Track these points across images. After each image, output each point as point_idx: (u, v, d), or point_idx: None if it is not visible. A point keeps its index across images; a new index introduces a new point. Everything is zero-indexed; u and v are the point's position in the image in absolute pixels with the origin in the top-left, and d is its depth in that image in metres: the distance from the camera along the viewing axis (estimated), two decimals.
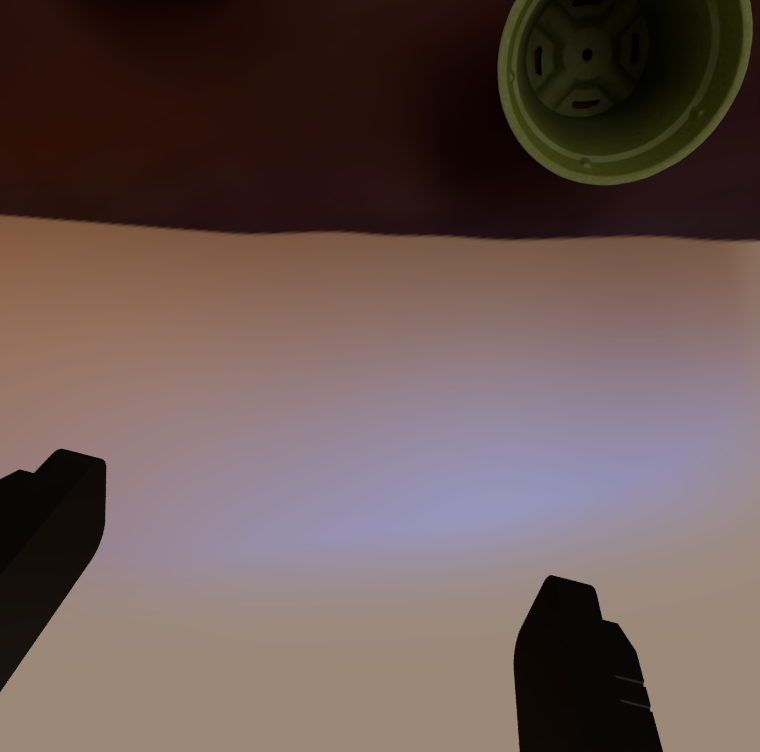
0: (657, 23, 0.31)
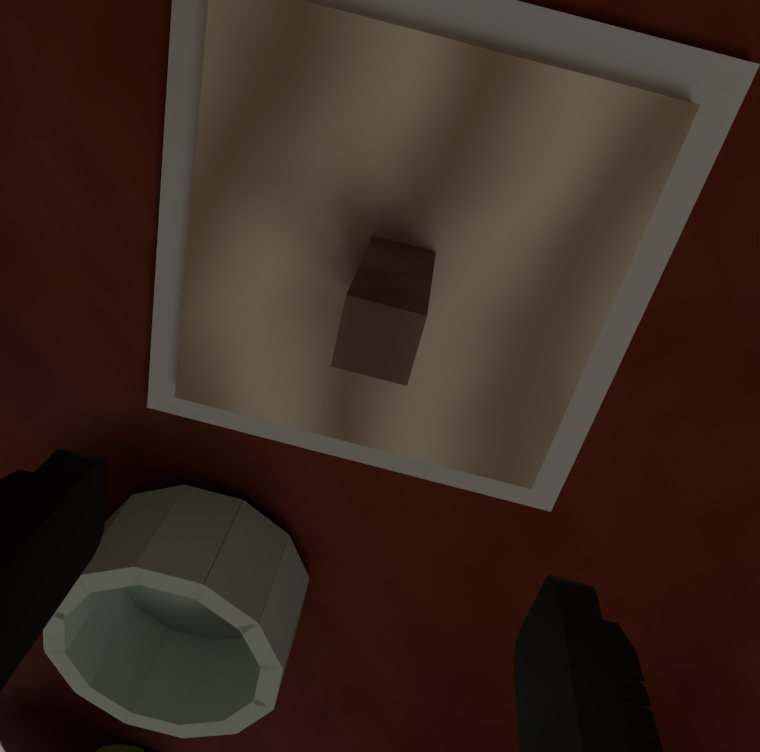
0: None
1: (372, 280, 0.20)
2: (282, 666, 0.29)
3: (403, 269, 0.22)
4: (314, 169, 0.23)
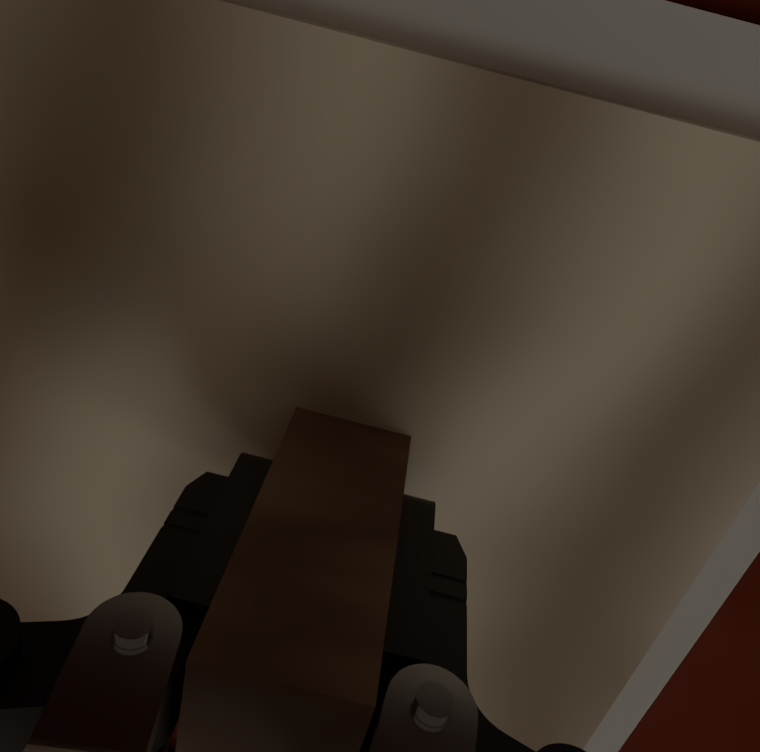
0: None
1: (267, 571, 0.10)
2: None
3: (340, 513, 0.11)
4: (182, 296, 0.12)
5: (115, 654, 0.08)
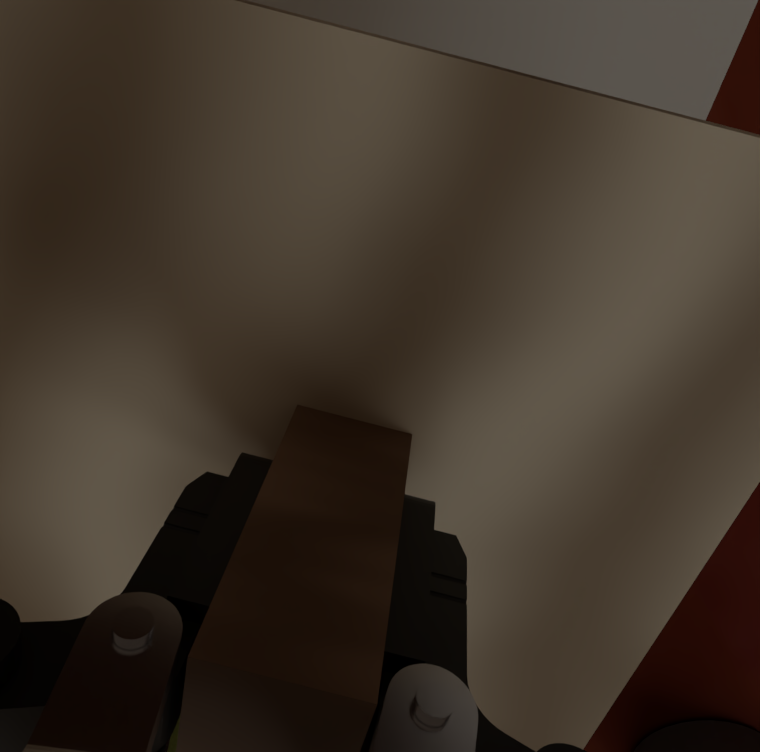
0: None
1: (269, 568, 0.10)
2: None
3: (342, 510, 0.11)
4: (183, 294, 0.12)
5: (115, 654, 0.08)
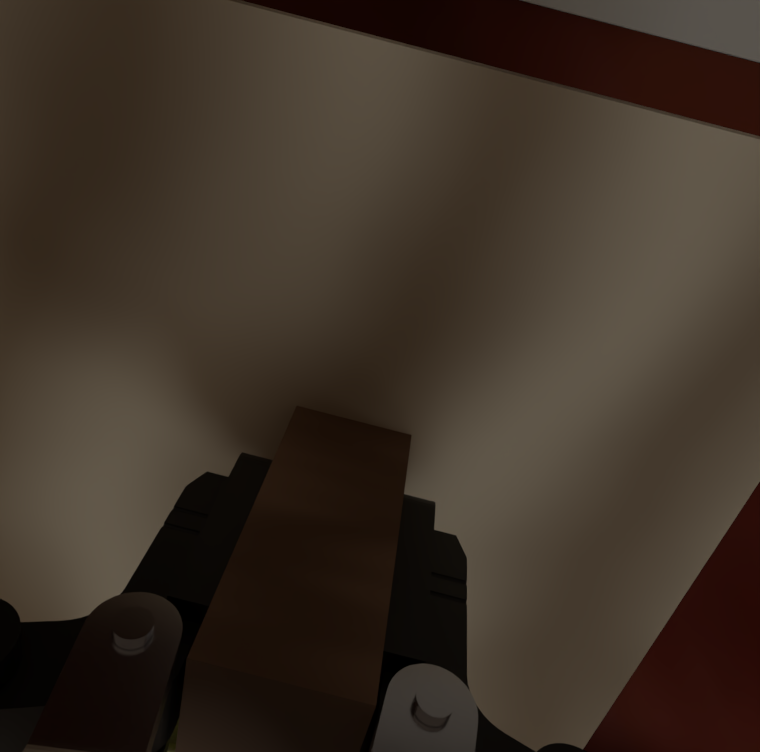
0: None
1: (268, 570, 0.10)
2: None
3: (342, 511, 0.11)
4: (182, 295, 0.12)
5: (115, 654, 0.08)
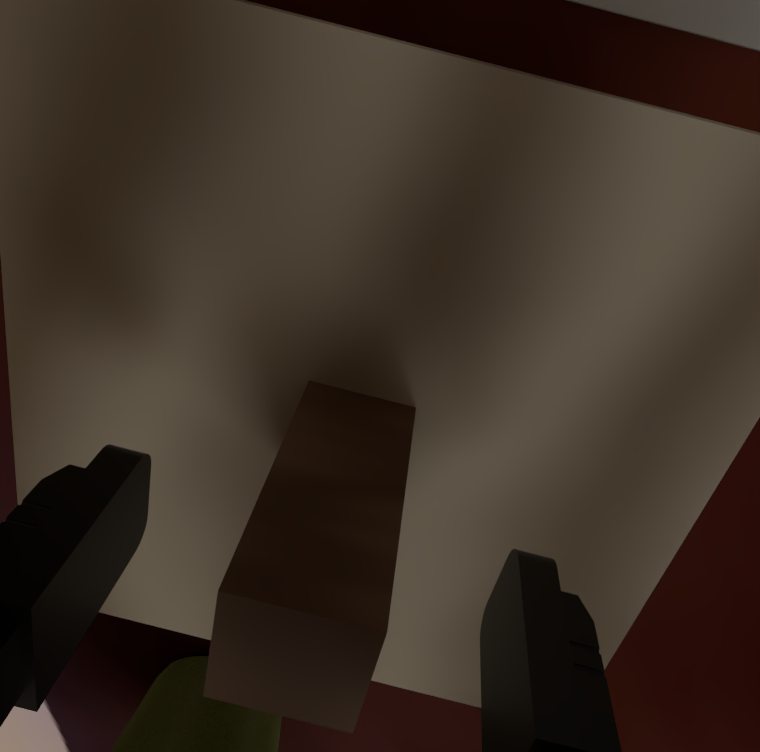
0: None
1: (287, 520, 0.11)
2: None
3: (352, 472, 0.12)
4: (203, 276, 0.13)
5: None
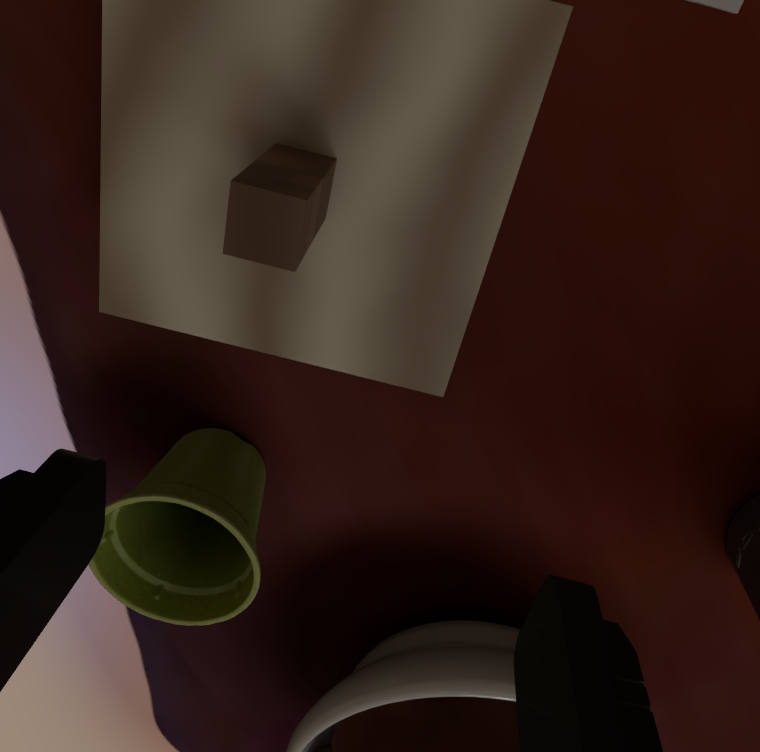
0: None
1: (262, 172, 0.21)
2: None
3: (297, 168, 0.23)
4: (216, 76, 0.24)
5: None
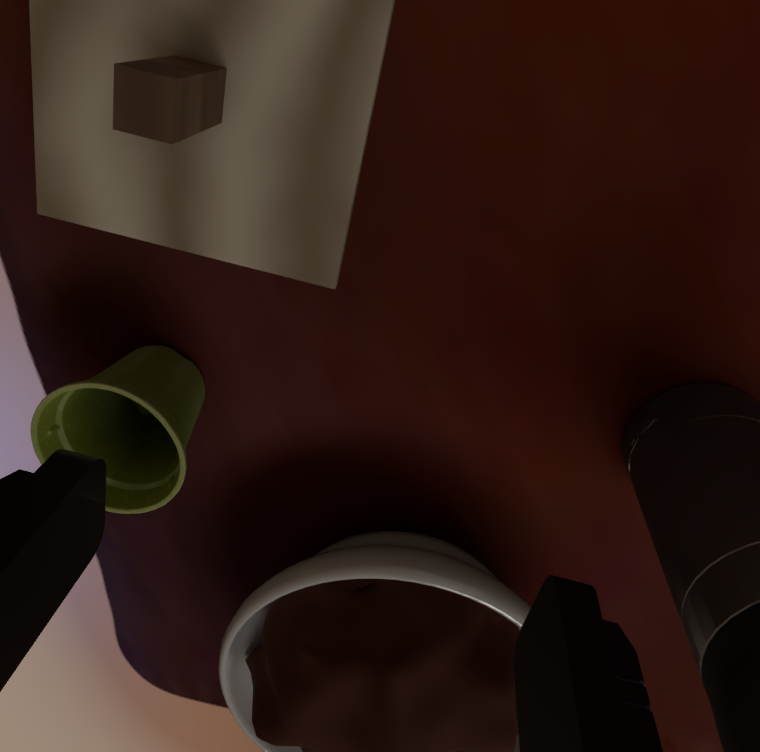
0: None
1: (147, 64, 0.26)
2: None
3: (182, 66, 0.28)
4: None
5: None
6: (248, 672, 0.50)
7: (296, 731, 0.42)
